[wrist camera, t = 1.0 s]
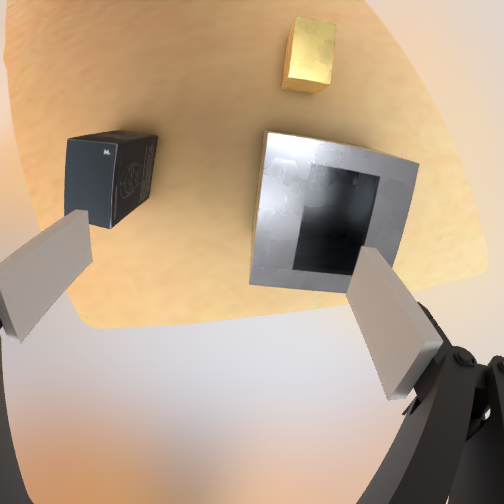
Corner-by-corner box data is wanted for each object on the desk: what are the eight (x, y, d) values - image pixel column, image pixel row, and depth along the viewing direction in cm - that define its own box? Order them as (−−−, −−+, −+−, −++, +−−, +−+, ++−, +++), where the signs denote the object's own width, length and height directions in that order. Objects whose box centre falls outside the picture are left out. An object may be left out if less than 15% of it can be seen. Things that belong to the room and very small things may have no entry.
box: (116, 130, 30) (66, 137, 20) (159, 135, 30) (118, 142, 21) (109, 192, 33) (62, 219, 23) (149, 199, 34) (110, 231, 24)
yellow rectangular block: (286, 40, 25) (295, 16, 18) (318, 45, 26) (336, 24, 18) (281, 88, 28) (288, 76, 21) (312, 93, 28) (330, 84, 21)
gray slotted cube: (264, 129, 30) (268, 132, 19) (367, 148, 30) (419, 163, 19) (251, 231, 35) (249, 284, 24) (348, 243, 35) (382, 295, 24)
